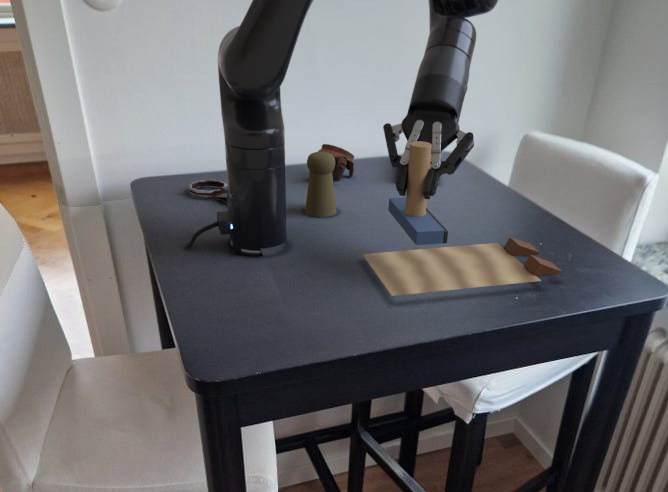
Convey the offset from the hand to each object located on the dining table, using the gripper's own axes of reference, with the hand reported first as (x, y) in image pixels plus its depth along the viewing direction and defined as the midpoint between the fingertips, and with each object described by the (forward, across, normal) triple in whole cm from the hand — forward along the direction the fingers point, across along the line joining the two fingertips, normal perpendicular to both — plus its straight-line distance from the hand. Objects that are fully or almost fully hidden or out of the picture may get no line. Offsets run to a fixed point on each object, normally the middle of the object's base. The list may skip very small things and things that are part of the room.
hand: (414, 194), depth 96 cm
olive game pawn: (-7, -23, +27) cm, 37 cm away
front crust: (+3, +19, +16) cm, 25 cm away
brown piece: (-20, -27, +41) cm, 53 cm away
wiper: (+3, 0, +5) cm, 6 cm away
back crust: (-2, +15, +21) cm, 26 cm away
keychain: (-7, -42, +27) cm, 50 cm away
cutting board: (+6, +5, +14) cm, 16 cm away
